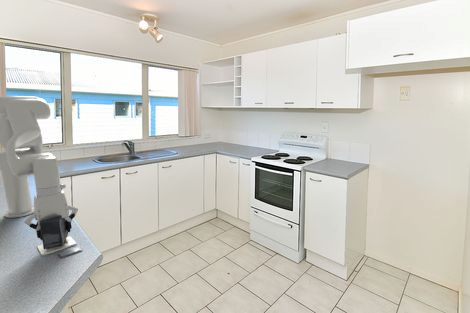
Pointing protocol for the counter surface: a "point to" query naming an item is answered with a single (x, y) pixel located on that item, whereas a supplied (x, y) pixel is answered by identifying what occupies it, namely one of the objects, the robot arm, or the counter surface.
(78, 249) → the phone
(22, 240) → the counter surface
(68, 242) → the outlet plate
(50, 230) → the small box
